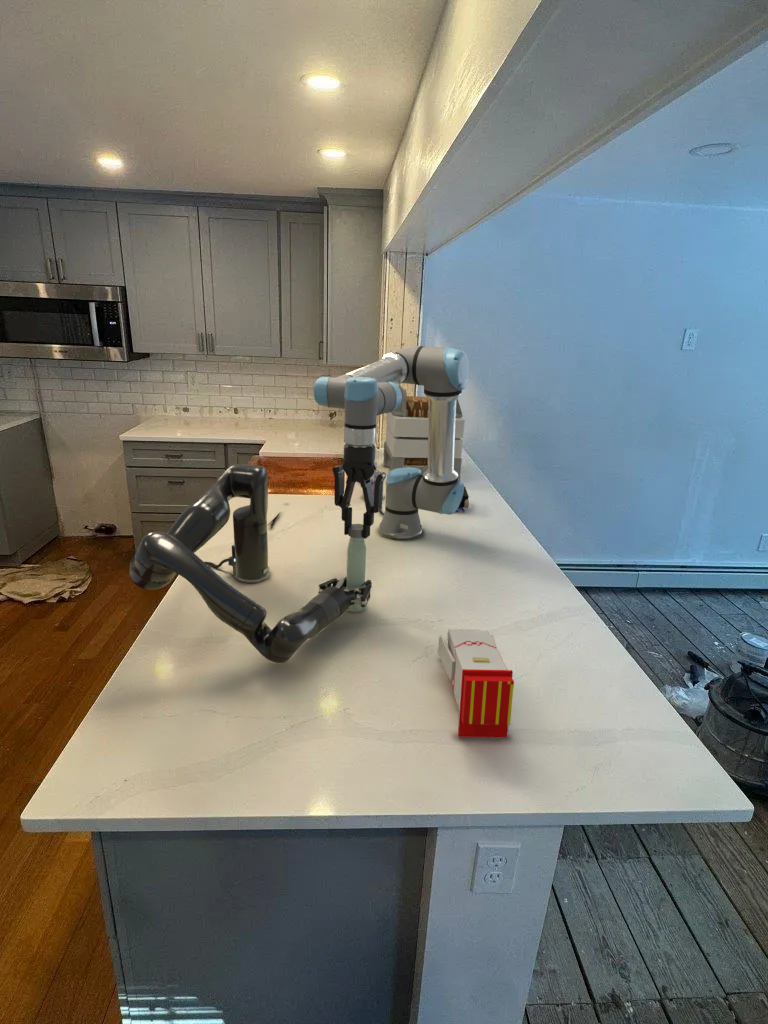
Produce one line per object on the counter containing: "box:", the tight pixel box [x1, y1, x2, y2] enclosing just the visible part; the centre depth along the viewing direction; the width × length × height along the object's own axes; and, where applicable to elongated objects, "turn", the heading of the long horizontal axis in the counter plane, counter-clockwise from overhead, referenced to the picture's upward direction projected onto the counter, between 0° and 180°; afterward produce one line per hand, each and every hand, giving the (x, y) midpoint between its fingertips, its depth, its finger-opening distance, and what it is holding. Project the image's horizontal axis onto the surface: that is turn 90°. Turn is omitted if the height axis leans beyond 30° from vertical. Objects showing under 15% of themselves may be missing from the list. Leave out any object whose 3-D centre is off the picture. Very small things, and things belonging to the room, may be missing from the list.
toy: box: [437, 628, 515, 738], centre depth 117 cm, size 12×13×30 cm
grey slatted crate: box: [383, 384, 465, 481], centre depth 268 cm, size 34×33×41 cm
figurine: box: [362, 461, 378, 501], centre depth 233 cm, size 9×10×15 cm
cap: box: [347, 523, 363, 538], centre depth 142 cm, size 5×5×2 cm
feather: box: [267, 512, 281, 529], centre depth 211 cm, size 2×28×2 cm
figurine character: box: [455, 486, 470, 513], centre depth 227 cm, size 7×8×15 cm
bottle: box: [346, 536, 367, 613], centre depth 146 cm, size 5×5×22 cm
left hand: (360, 580), depth 150 cm, fingers closed on bottle, 4 cm apart
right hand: (357, 534), depth 143 cm, fingers closed on cap, 4 cm apart
